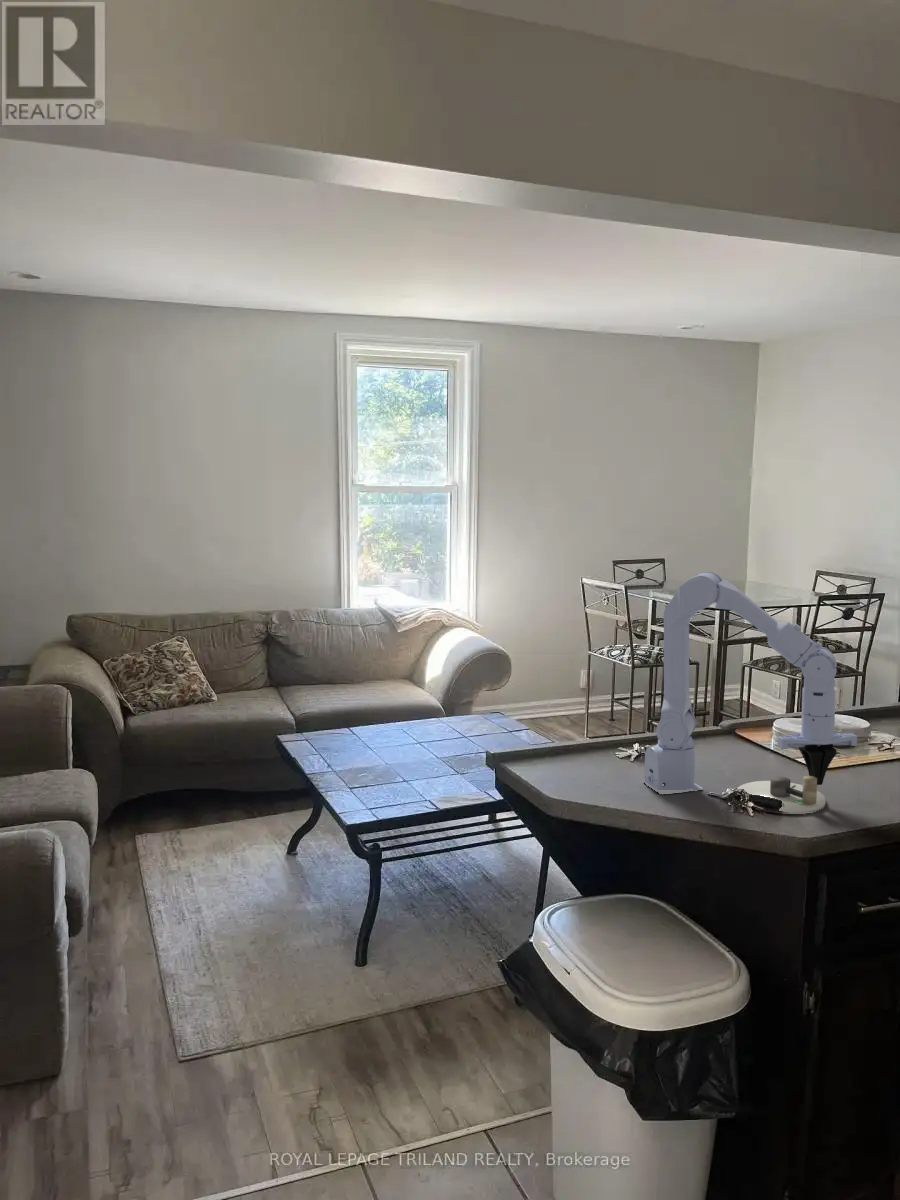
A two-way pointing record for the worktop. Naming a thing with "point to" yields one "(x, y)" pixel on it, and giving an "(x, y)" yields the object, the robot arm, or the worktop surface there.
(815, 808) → the dial plate
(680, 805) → the worktop surface
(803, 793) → the crank handle
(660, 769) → the robot arm
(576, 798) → the worktop surface
